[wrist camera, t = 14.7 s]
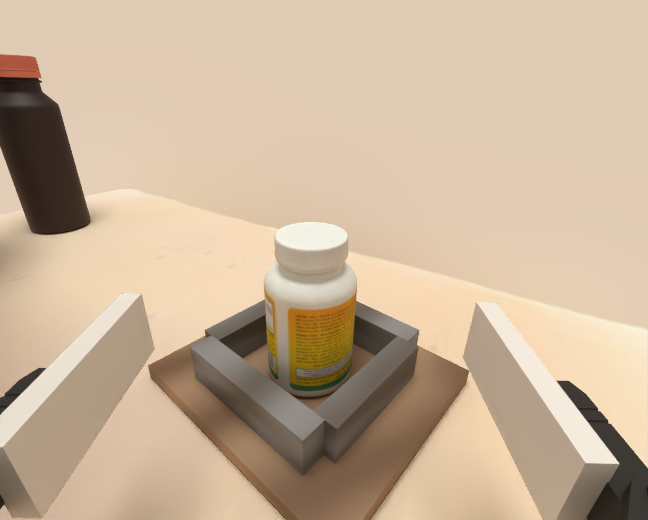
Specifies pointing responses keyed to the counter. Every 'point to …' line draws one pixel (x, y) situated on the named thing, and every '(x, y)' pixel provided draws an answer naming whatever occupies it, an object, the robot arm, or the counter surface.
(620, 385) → the counter surface
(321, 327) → the supplement bottle
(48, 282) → the counter surface
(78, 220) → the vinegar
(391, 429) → the collar board
